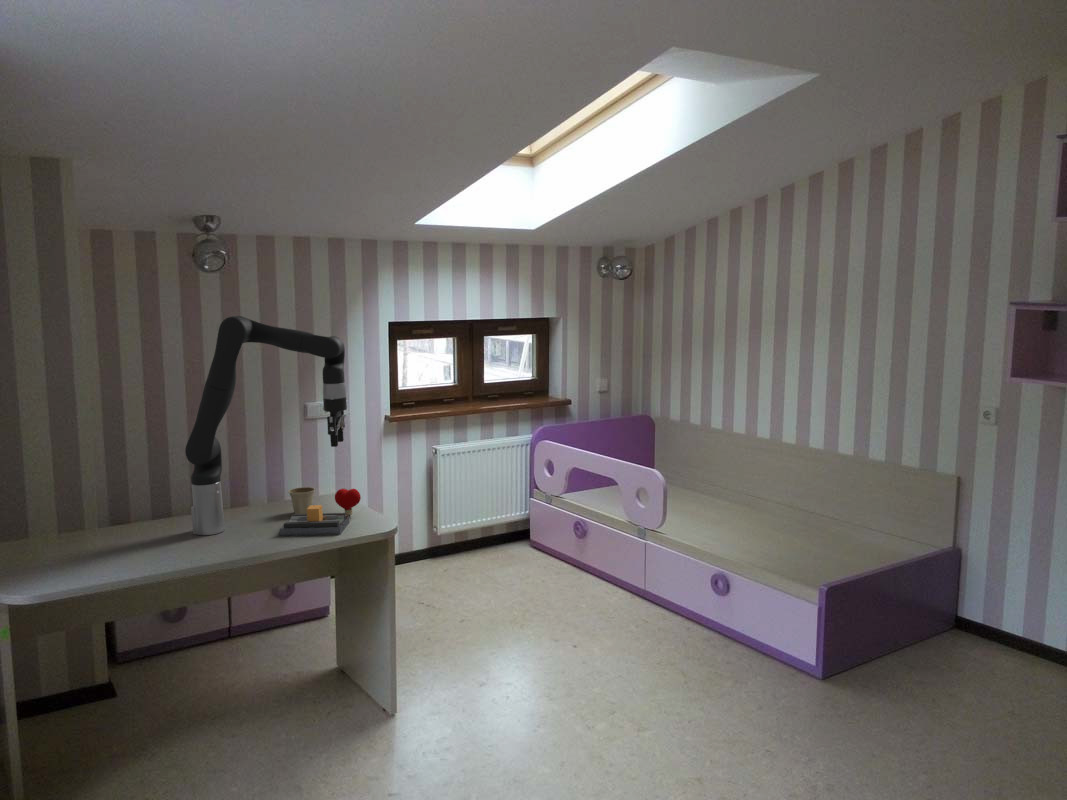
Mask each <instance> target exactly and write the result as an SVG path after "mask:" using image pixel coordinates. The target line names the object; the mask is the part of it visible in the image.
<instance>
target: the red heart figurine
mask: <svg viewBox="0 0 1067 800" xmlns="http://www.w3.org/2000/svg"><path fill="white" fill-rule="evenodd" d="M361 499H362V496H361V493H360V491H359V490H357V489H356V488H350V489H345V488H340V489H338V490H337V491H336V492H335V495H334V500H335V503H336V505H338V506H339V507H340V508H342V509H344V513H345V515H346V516H348V515H349V517H351V516H352V515H353V508H354V507H355V506H357V505H359V503H360V501H361Z"/></svg>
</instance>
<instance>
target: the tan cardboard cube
mask: <svg viewBox="0 0 1067 800" xmlns="http://www.w3.org/2000/svg"><path fill="white" fill-rule="evenodd" d="M322 513H323V505H322V504H318V505H317V504H315V505H313V504H312V505H310V506H309V507H308V508H307V521H322V520H323V514H322Z"/></svg>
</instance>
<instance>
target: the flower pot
mask: <svg viewBox="0 0 1067 800" xmlns="http://www.w3.org/2000/svg"><path fill="white" fill-rule="evenodd" d="M315 490H316V488H315V487H310V486H303V487H295V488H292V489H290V490H287V492H288V494H289V496H290V498H291V503H292V507H293V514H307V508H308V507H309V506H310V505H313V500H314V494H315Z"/></svg>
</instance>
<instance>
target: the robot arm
mask: <svg viewBox="0 0 1067 800" xmlns="http://www.w3.org/2000/svg"><path fill="white" fill-rule="evenodd" d="M244 343H255V344H256V343H257V344H258V343H259V344H265V345H266V344H267V345H270V346H273V347H277V348H280V349H283V350H287V351H291V352H296V353H302V354H310V355H313V356H317V357H320V358H324V364H323V365H324V366H323V367H322V400H323V412H329V416H327V417H326V419H327V420H326V421H327V435H328V436H330V447H332V448H334V447H336V448H337V447H338V446H339V443H341V442H342V443H343V442H344V440H345V439H344V431H345V430H344V429H345V427H346V425H345V411H346V410H347V408H348V407H347V406H348V405H347V390H346V384H345V371H344V365H345V357H346V356H345V353H346V352H345V351H346V349H345V343H344V342H343V340H342V339H341V338H340V337H339V336H336V335H331V336H324V335H318V334H314V333H312V332H308V331H304V330H300V329H299V330H297V329H291V328H285V327H278V326H274V325H273V326H272V325H268V324H265V323H261V322H259V321H256V320H252V319H250V318H247V317H245V316H242V315H235V316H234V315H233V316H229V317H226V318H225V319H223V320H222V322H221V323H220V325H219V327H218V333H217V338H216V344H215V351H214V355H213V357H212V361H211V363H210V368H209V370H208V374H207V377H206V380H205V382H204V387H203V389H202V390H203V391H202V394H201V399H200V403H199V406H198V410H197V415H196V420H195V422H194V426H193V428H192V431H191V433H190V435H189V438H188V440H187V443H186V445H185V451H184V453H185V457H186V460H187V461H188V462H189V463H190V464H192V465H194V466H193V467H194V468H193V471H192V474H191V475H190V482H191V483H190V484H191V490H192V491H191V492H192V494H191V495H192V504H193V505H192V506H191V507H190V512H191V513H190V514H191V523H192V534H193V535H198V536H210V535H217V534H220V533H222V532H224V531H225V519H224V508H223V507H224V506H223V494H222V482H221V480H222V479H221V475H222V471H223V466H222V465H223V463H222V462H223V461H222V448H221V443H220V442H219V439H218V438H217V437H216V434H217V431H218V427H219V425H220V423H221V422H222V420H223V418H224V416H225V415H226V413H227V411H228V409H229V407H230V405H231V402H232V399H233V395H234V392H235V388H236V382H237V360H238V357H239V353H240V351H241V348H242V345H243V344H244Z"/></svg>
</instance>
